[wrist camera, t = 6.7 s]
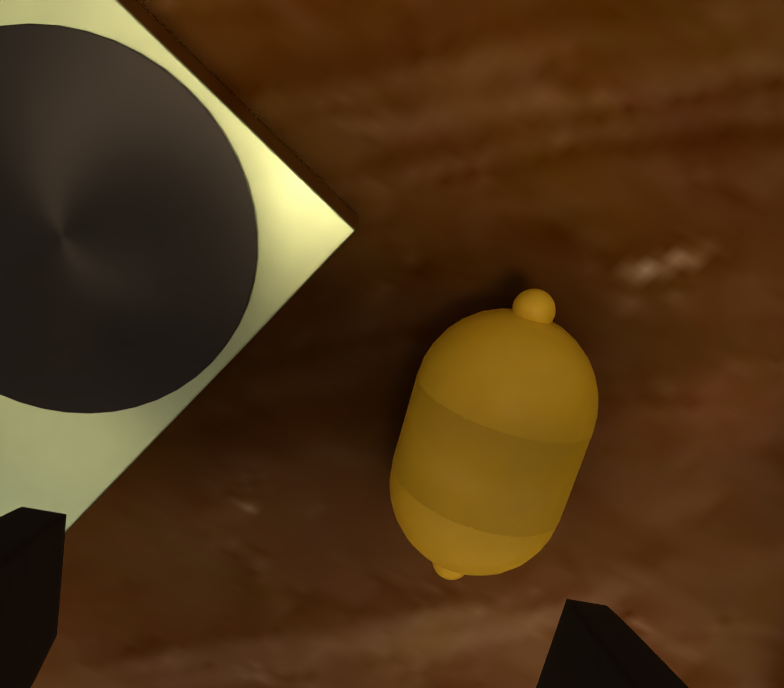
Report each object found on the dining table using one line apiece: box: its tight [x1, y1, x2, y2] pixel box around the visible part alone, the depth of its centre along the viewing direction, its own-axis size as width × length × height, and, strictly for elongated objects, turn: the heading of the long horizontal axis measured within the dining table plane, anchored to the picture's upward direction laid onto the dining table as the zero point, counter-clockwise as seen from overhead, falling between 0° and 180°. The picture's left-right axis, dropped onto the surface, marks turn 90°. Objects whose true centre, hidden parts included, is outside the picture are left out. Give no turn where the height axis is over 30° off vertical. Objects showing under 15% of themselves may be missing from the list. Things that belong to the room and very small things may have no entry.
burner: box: [0, 23, 258, 414], centre depth 15 cm, size 8×8×1 cm
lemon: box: [390, 289, 598, 580], centre depth 17 cm, size 8×4×4 cm, turn 165°
